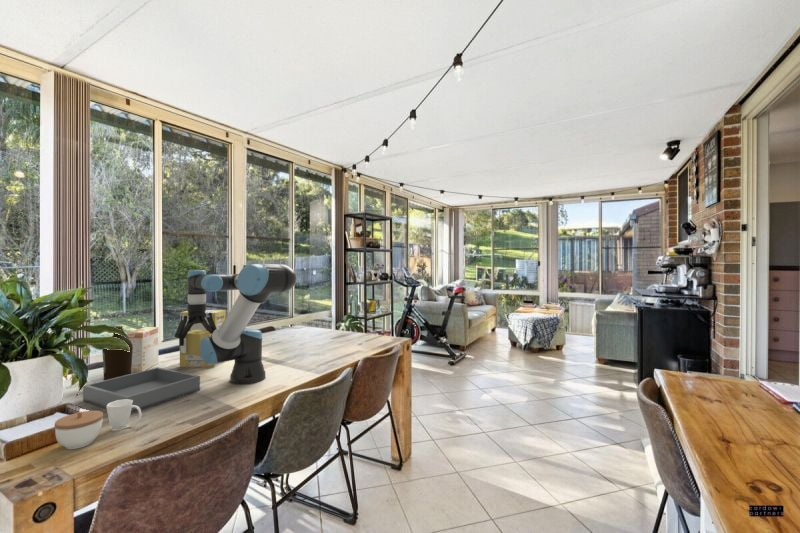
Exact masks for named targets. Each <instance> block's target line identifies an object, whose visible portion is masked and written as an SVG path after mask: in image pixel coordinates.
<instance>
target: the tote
mask: <svg viewBox="0 0 800 533" xmlns="http://www.w3.org/2000/svg"><path fill="white" fill-rule="evenodd" d="M83 386H84V385H83ZM83 386H82V387H83ZM200 390H201V376H200V375H199V374H198V375H197V374H193V373H187V372H183V371H178V370H172V369H169V368H164V367H159V366H158V367H154V368H153V367H152V368H149V369H147V370H145V371H140V372H131V374H128V375H124V376H120V377H116V378H112V379H108V380H104V379H103V380H102V381H101V380H100V381H97V382H94V383H93V382H92V383H89V384H85V386H84V387H83V388H82V401H83V402H84V403H88V404H90V405H94V406H97V407H100V408H103V409H106V410H107V408H106V406H107V405H108V403H111V402H114V401H116V400H123V399H130V400H133V403H132V405H136V406H138V407H139V408H140V409H141V411H142V410H145V409H148V408H151V407H154V406H157V405H159V404H163V403H166V402H169V401H171V400H175V399H177V397H178V398H180V396H181V397H184V396H186V394H187V395H190V394H193V393H196V392H198V391H200ZM189 393H190V394H189ZM183 395H184V396H183ZM136 412H137V413H138V410H137V409H136V408H135V407H133V408H131V414H134V413H136Z"/></svg>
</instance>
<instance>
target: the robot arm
mask: <svg viewBox="0 0 800 533" xmlns="http://www.w3.org/2000/svg"><path fill="white" fill-rule="evenodd" d="M186 279H187V303H188V304H187V311H188V316H183V315H182V316H181V321H180V320H179V325H178V326H177V329H176V332H175V333H174V338H178V340H179V341H178V345H180V346H181V353H186V338H185V336H186V335H187V333H188V332H189V330H190V328H191V327H192V326H193V325H194V324H197V323H201V324H202V325H203V326H204V327H205V329H206V330H207V331H209V333H210V334H212V335H211V336H210V337H206V338H203V339H202V340H201V342H200V353H201V356H202V359H203V361H204V362H205V363H206V364H208V365H212V364H218V363H222V362H224V363H225V362H230V361H231V362H232V361H234V364H233V367H232V372H231V373H230V376H229V381H230V382H231V383H232V384H238V385H239V384H241V385H243V384H244V385H245V384H246V385H247V384H252V383H253V384H254V383H258V382H261V381H263V380H265V379H266V371H265V367H264V364H263V361H262V359H263V357H262V355H263V350H262V349H263V334H262V331H261V330H260V329H255V328H246V327H247V326H248V324H249V322H251V319H252V317H253V316H254V314H255V312H256V311H257V309H258V308H259V306H260V305H261V304H264V303H266V302H267V301H268V299H269V297H270V296H271V295H272V294H283V293H286V292H288V291H291V290H292V289H293V288H294V286H295V285H296V283H297V274H296V272H295V270H294V269H293V268H292V267H290V266H289V265H286V264H279V263H278V264H275V263H273V264H271V263H269V264H268V263H267V264H265V263H264V264H262V263H254V264H253V263H252V264H247V265H245V266H244V267H243V268H242V269H241V270H240V271H239V273H230V274H229V273H228V274H227V273H226V274H225V273H224V274H212V273H210V274H207V271H206V269H204V270H203V269H197V270H196V269H191V270H188V272H187V278H186ZM221 291H238V292H239V295H238V297H237V298H236V300H235V301H234V304H233V305H232V306H231V309H230V310H229V312H228V313H227V315H226V319H225V320H224V322H223V324H222V325H221V327H220V328H216V326H215V323H214V321H213V318H212V313H209V312H207V313H205V311H206V310H207V303H206V302H207V292H208V293H209V292H210V293H212V292H213V293H214V292H221ZM205 317H206V318H207V321H208V323H209V324H208V323H207V321H206V320H205ZM188 319H189V320H188ZM187 320H188V322H187ZM186 322H187V324H186ZM185 325H186V326H185ZM209 325H210V326H209ZM184 327H185V328H184ZM222 364H223V363H222Z"/></svg>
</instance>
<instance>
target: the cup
mask: <svg viewBox="0 0 800 533" xmlns="http://www.w3.org/2000/svg"><path fill="white" fill-rule="evenodd" d="M132 403H133V400H130V399H123V400H116V401H114V402H111V403H108V405H107V406H106V408H107V409H106V408H105V409H106V411H107V418H108V421H109V426H110V427H111V429H110V430H111V431H114V432H116V431H123V430H124V428H125V429H129V428H131V427H133V426H134V425H135V424H137V423H138V422H139V421H141V420H142V419H141V418H142V415H143V413H142V410H141V409H140V408H139V407H138V406H136V405H132ZM133 407H135V408H136V409H137V410H138V411H137V413H138V416H139V417H138V419H137V420H136V421H135V422H134V423H132V424H130V425H129V422H130V421H129V420H130V418H131V414H132V413H131V408H133Z"/></svg>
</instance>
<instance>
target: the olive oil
mask: <svg viewBox="0 0 800 533" xmlns="http://www.w3.org/2000/svg"><path fill="white" fill-rule="evenodd" d="M114 327H116V328H118V329H121V330H122V331H124V329H123V327H124V326H123V325H115V326H113V328H114ZM124 336H125V335H124ZM124 336H121V335H118V334H115V333H113V334H112V336H111V337H117V338H120V339H122V340H124V341H125V342H126V343H127V344H128V345H129V347H130V352H127V351H124V350H107V349H103V348H102V350H101V351H102V353H101V354H102V366H103V367H102V370H103V381H104V380H108V379H112V378H116V377H120V376H124V375H128V374H132V372H131V367H132V353H133V345H132V342H131V341H130V340H128V339H127V338H128V337H126V336H125V337H126V338H125V337H124Z"/></svg>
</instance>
